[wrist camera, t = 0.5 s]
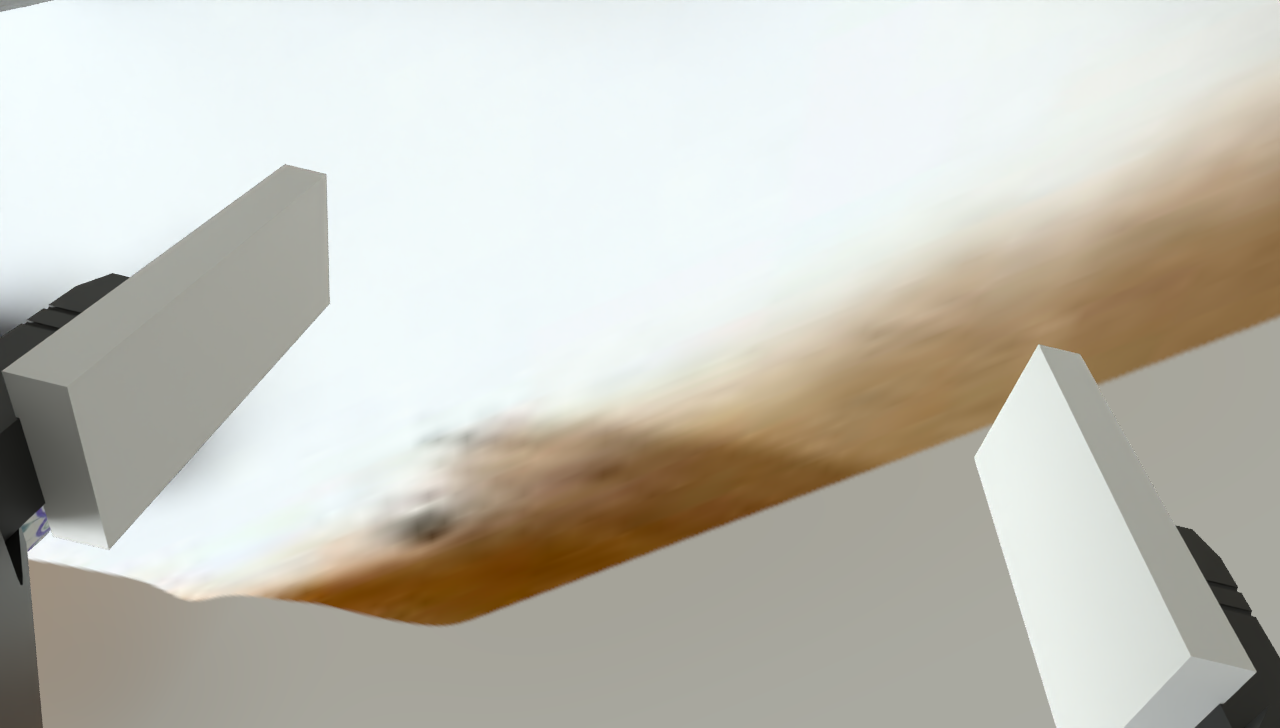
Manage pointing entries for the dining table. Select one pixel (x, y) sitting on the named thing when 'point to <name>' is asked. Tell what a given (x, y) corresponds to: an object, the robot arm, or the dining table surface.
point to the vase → (18, 4)
